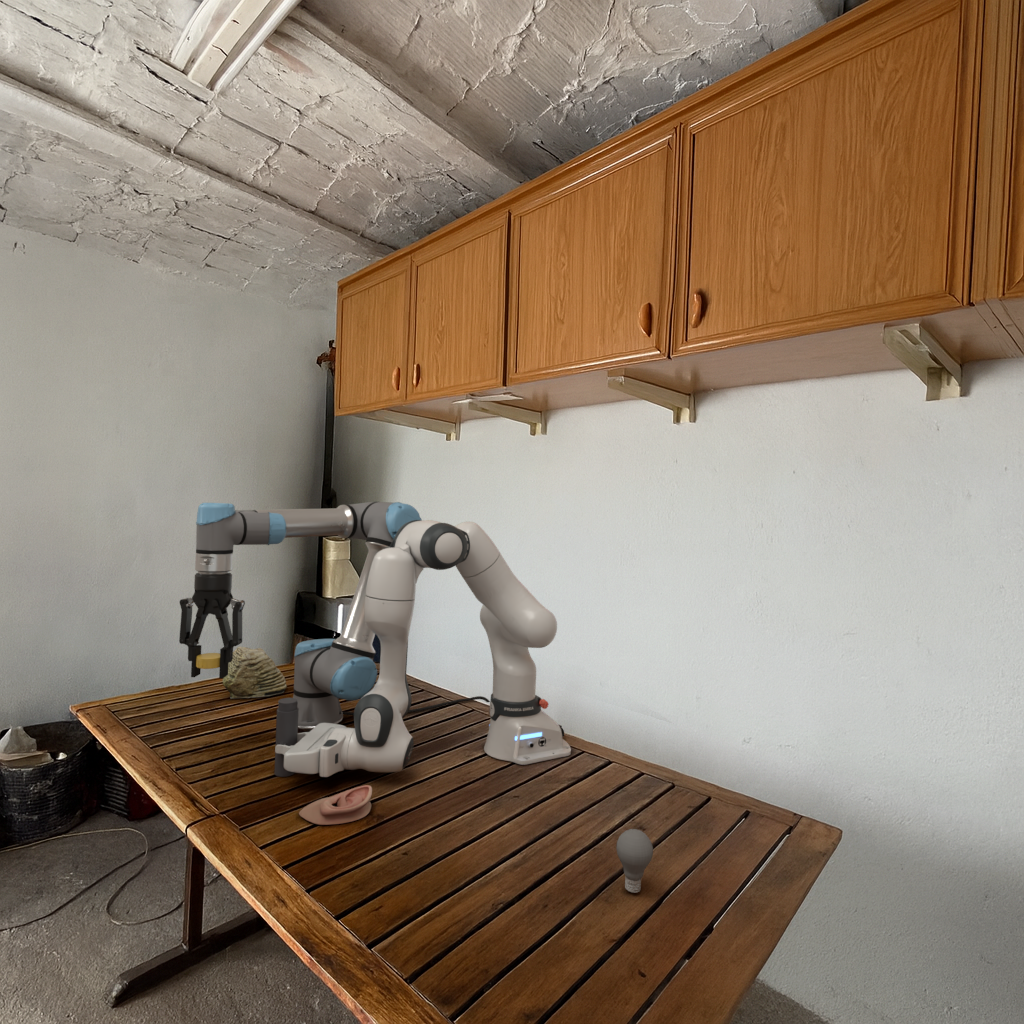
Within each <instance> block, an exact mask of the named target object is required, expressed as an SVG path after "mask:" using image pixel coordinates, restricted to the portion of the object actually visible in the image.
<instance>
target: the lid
mask: <svg viewBox="0 0 1024 1024" xmlns="http://www.w3.org/2000/svg"><path fill="white" fill-rule="evenodd" d="M196 667H197V668H201V669H202V670H213V669H218V668H219V669H220V652H206V653H201V655H198V656H197V658H196ZM201 669H200V670H201Z"/></svg>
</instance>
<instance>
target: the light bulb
mask: <svg viewBox="0 0 1024 1024" xmlns="http://www.w3.org/2000/svg"><path fill="white" fill-rule="evenodd" d="M615 849H616V854H617V857H618V859H619V861H620V863H621V865H622V867H623V873H624V874H623V875H624V876H625V878H624V888H625V890H627V891H628V892H630V893H634V894H635V893H639V892H640V891H641V889H642V887H641V886H642V879H643V877H644V875H645V871H646V868H647V867H648V866H649V864H650V863H651V861H652V859H653V855H654V847H653V843H652V841H651V838H649V836H648V835H647V834H646V833H645V832H643V831H642V830H641V829H636V828H629V829H627V830H625V831H623V832H622V833H621V834H620V835H619V837H618V839H617V841H616V847H615Z"/></svg>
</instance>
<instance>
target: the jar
mask: <svg viewBox="0 0 1024 1024" xmlns="http://www.w3.org/2000/svg"><path fill="white" fill-rule="evenodd" d="M297 701H298V700H297V699H296V698H293V697H284V698H280V699H278V701H277V704H278V707H277V709H276V719H275V720H276V721H275V722H276V723H275V724H276V725H275V746H276V745H278V744H279V743H286V745H287V746H291V745H293V746H294V745H295V744H296V743H297V737H298V733H299V731H298V711H299V708H298V707H297V704H298V702H297ZM295 774H296V773H295V772H290V771H287V770H286V769H284V755H283V754H279V753H276V752H275V751H274V775H275V776H276V777H280V778H281V777H282V778H285V777H290V776H293V775H295Z"/></svg>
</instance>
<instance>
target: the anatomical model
mask: <svg viewBox="0 0 1024 1024" xmlns="http://www.w3.org/2000/svg"><path fill="white" fill-rule="evenodd" d="M372 795H373V787H372V786H371V785H369V784H367V785H366V784H365V785H361V786H356V787H354V788H351V789H350V788H349V789H347V790H345V791H341V792H340V793H337V794H334V795H332V796H329V797H328V796H327V797H323V798H320V799H317V800H315V801H313V802H311V803H309V804H307V805H306V806H304V807H303V808H301V809H300V810H299V812H298V815H299V817H300V818H302V819H304V820H306V821H307V822H310V823H311V824H315V825H319V826H328V825H339V824H346V823H351V822H354V821H357V820H361V819H363V818H365V817H366V816H367V815H368V814H369V813H370V812H371V809H372V803H371V798H372V797H373V796H372Z"/></svg>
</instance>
